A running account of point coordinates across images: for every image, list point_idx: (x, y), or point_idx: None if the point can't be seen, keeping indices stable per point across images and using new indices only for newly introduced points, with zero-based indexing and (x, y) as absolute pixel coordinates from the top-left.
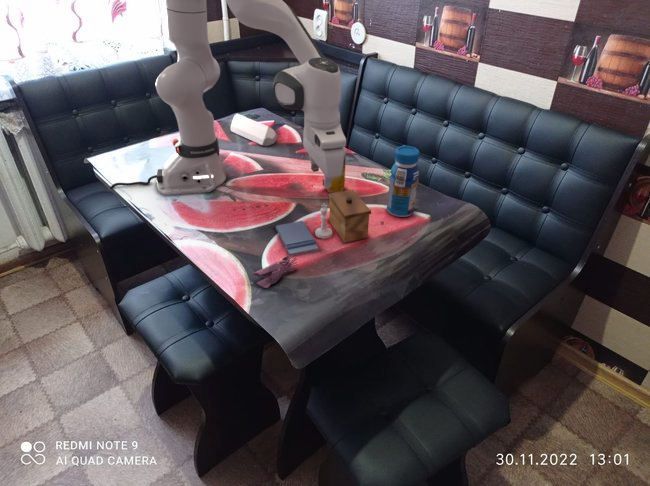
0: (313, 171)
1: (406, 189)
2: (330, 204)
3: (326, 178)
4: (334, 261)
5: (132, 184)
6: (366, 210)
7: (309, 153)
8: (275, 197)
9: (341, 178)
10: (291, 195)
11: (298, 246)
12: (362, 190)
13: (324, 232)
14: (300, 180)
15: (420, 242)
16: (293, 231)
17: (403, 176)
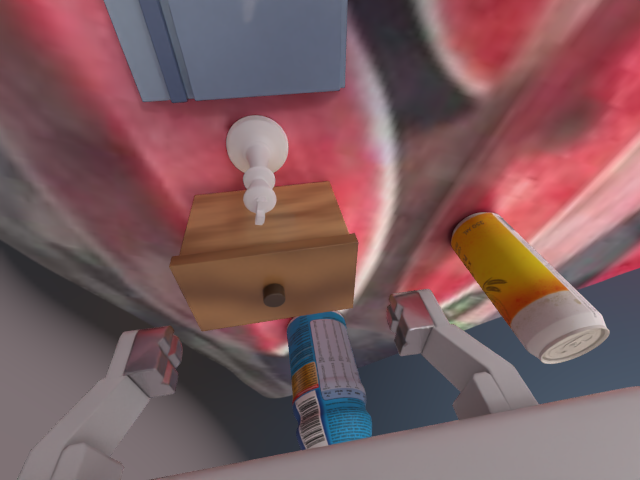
0: (391, 295)
1: (293, 397)
2: (333, 221)
3: (38, 446)
4: (71, 138)
5: None
6: (205, 322)
7: (484, 457)
8: (574, 21)
9: (472, 272)
10: (537, 96)
11: (142, 9)
12: (429, 280)
13: (242, 151)
14: (589, 151)
15: (184, 332)
16: (268, 21)
17: (303, 433)
